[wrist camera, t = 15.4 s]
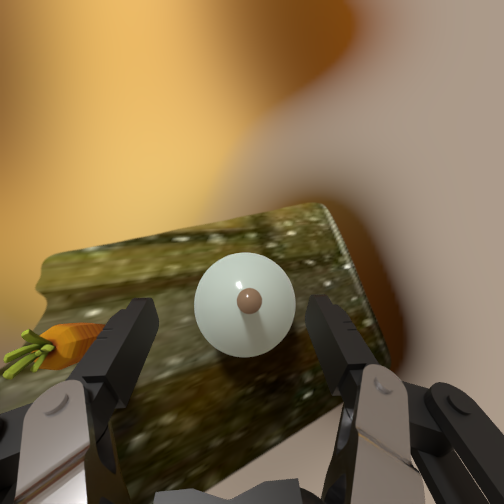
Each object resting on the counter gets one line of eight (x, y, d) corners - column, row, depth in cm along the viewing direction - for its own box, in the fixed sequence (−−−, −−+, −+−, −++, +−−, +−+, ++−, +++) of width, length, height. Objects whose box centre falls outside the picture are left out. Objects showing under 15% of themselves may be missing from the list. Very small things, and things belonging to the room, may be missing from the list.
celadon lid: (212, 371, 25) (196, 414, 16) (185, 271, 28) (157, 254, 19) (307, 332, 27) (346, 349, 18) (273, 243, 30) (289, 215, 21)
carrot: (111, 312, 33) (9, 319, 18) (135, 326, 32) (52, 345, 18) (90, 340, 31) (-36, 371, 17) (116, 355, 31) (9, 401, 16)
